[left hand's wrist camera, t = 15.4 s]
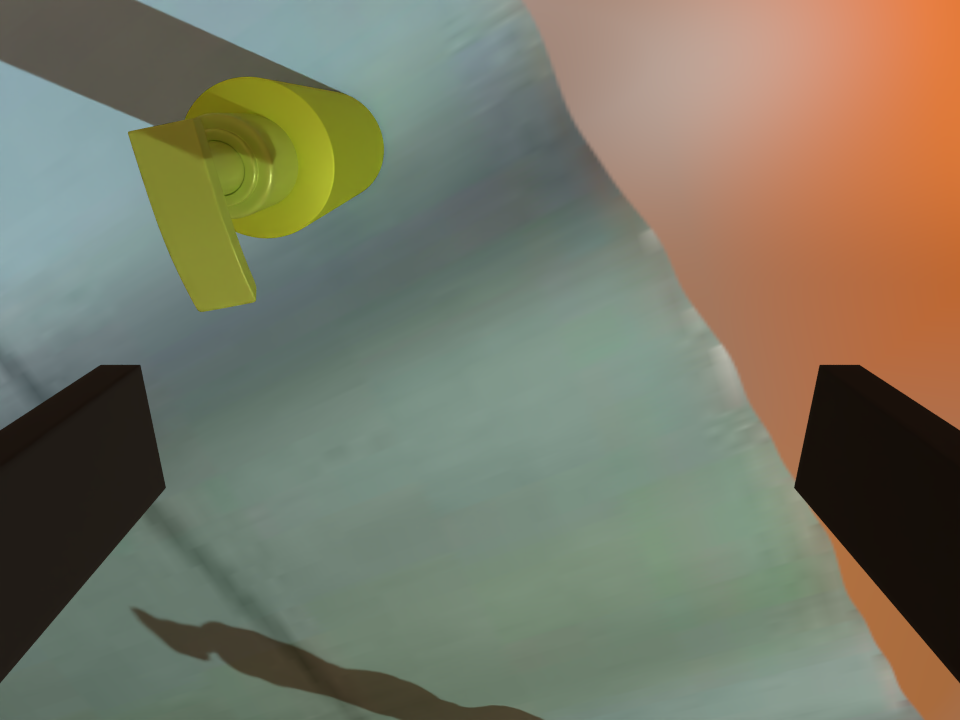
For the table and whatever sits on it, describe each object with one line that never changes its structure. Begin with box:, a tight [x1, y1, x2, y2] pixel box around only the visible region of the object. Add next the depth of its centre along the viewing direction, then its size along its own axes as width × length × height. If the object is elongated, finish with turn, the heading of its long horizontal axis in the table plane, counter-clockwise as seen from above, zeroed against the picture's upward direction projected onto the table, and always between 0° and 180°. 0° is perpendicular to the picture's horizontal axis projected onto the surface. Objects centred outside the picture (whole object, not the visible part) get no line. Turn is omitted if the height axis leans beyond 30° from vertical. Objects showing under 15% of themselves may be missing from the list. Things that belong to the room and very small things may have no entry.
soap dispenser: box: [128, 77, 384, 312], centre depth 27 cm, size 6×7×20 cm
